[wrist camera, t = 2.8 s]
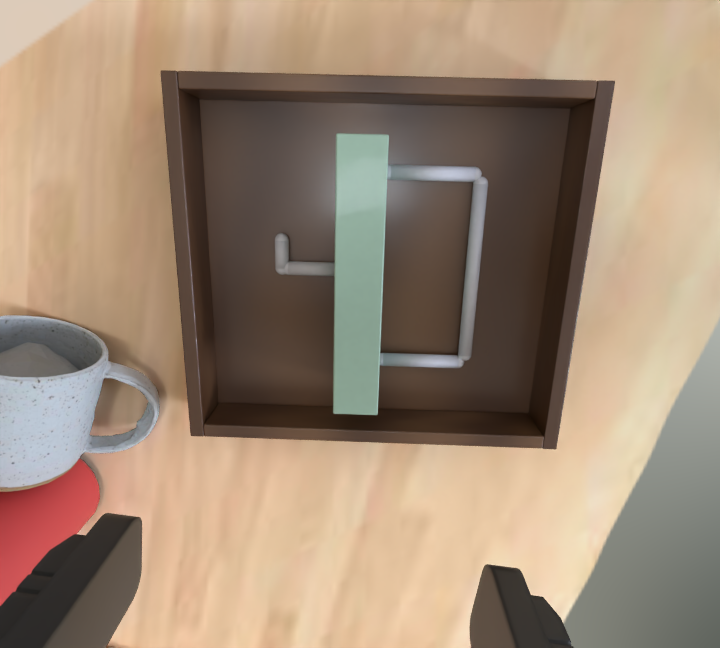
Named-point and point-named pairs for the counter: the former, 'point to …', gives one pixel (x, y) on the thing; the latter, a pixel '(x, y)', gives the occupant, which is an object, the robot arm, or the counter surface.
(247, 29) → the counter surface
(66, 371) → the ceramic mug
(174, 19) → the counter surface
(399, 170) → the hanger
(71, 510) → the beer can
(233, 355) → the tray
